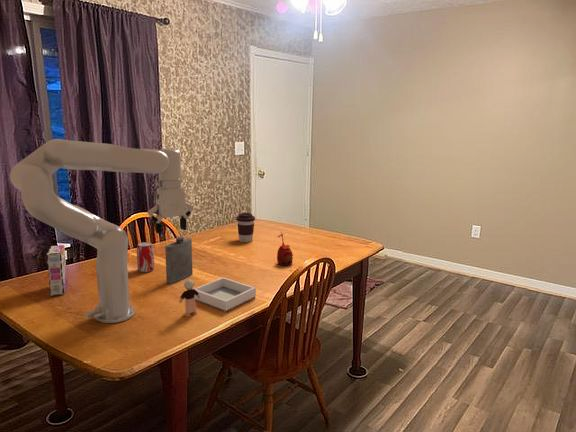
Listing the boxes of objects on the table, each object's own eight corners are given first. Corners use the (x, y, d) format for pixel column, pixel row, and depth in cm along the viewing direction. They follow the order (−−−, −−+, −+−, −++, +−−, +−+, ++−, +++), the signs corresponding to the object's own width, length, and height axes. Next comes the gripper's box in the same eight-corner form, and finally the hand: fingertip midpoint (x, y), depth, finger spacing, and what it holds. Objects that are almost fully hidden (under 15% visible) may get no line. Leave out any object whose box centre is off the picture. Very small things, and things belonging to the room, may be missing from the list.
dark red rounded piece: (282, 267, 197) (283, 235, 194) (273, 263, 202) (273, 232, 199) (295, 264, 202) (296, 233, 198) (285, 260, 207) (286, 229, 204)
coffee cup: (235, 238, 239) (235, 212, 236) (252, 237, 242) (252, 211, 239) (238, 244, 230) (238, 216, 227) (256, 242, 233) (256, 215, 230)
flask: (195, 274, 186) (194, 233, 182) (172, 285, 173) (170, 242, 169) (188, 272, 187) (187, 232, 183) (165, 283, 175) (163, 240, 171)
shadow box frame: (226, 312, 151) (226, 301, 150) (192, 299, 161) (192, 289, 160) (255, 297, 164) (255, 287, 163) (223, 286, 173) (223, 277, 172)
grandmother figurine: (195, 309, 153) (194, 275, 150) (202, 312, 151) (201, 278, 148) (177, 316, 147) (175, 281, 144) (184, 320, 145) (183, 284, 142)
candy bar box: (65, 295, 162) (61, 253, 158) (50, 296, 160) (45, 254, 156) (68, 284, 172) (64, 244, 168) (54, 285, 170) (50, 245, 166)
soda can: (149, 273, 185) (148, 247, 182) (134, 272, 186) (132, 245, 183) (157, 268, 192) (156, 242, 189) (143, 266, 193) (141, 241, 190)
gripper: (152, 187, 144) (154, 237, 148) (197, 183, 156) (197, 229, 160) (141, 184, 149) (143, 232, 153) (185, 181, 161) (186, 225, 165)
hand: (171, 231), depth 156 cm, fingers open, 9 cm apart
